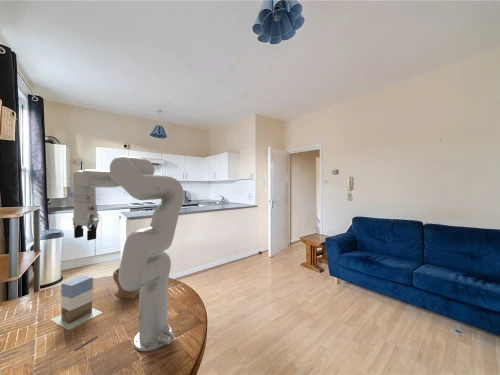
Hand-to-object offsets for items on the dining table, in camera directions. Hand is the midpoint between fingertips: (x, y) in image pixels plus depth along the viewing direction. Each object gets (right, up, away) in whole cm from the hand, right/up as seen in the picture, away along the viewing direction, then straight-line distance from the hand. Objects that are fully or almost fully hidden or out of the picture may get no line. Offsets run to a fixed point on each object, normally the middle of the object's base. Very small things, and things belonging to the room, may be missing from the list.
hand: (85, 238), depth 89 cm
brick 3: (-1, -32, -3) cm, 32 cm away
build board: (-1, -33, -3) cm, 33 cm away
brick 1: (-1, -22, -3) cm, 22 cm away
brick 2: (-1, -27, -3) cm, 27 cm away
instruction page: (+10, -33, -15) cm, 38 cm away
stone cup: (+11, -33, +15) cm, 38 cm away
